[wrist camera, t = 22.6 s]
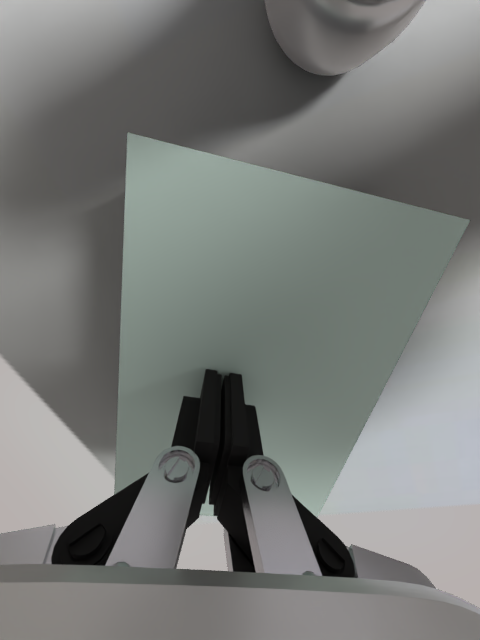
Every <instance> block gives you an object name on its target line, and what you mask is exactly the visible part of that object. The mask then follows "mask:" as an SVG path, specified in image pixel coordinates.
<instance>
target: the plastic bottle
mask: <svg viewBox="0 0 480 640" xmlns="http://www.w3.org/2000/svg"><path fill="white" fill-rule="evenodd" d="M425 1H426V0H265V7H266V11H267V15H268V20H269V24H270V26H271V29H272V31H273V34H274V36H275V39H276V40H277V42H278V44H279V45H280V47H281V48H282V50H283V51H284V53H285V54H286V55H287V56H288V57H289V58H290V59H291V60H292V61H293V62H294V63H295V64H296V65H298V66H299V67H301V68H302V69H304V70H306V71H308V72H311V73H314V74H317V75H331V76H333V75H337V74H342V73H346V72H348V71H350V70H353V69H355V68H357V67H359V66H360V65H362V64H363V63H365V62H366V61H367V60H369V59H370V58H371V57H373V56H374V55H376V54H377V53H378V52H380V51H381V50H382V49H384V48H385V47H386V46H388V45H389V44H390V43H392V42H393V41H394V40H395V39H396V38H397V37H398V36H399V35H400V34H401V33H402V32H403V31H404V29H405V28H406V27H407V26H408V25H409V24H410V22H411V21H412V20H413V18H414V17H415V15H416V14H417V13H418V11H419V10H420V8H421V7H422V6H423V4H424V3H425Z"/></svg>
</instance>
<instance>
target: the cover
mask: <svg viewBox="0 0 480 640" xmlns="http://www.w3.org/2000/svg"><path fill="white" fill-rule="evenodd" d="M469 222H470V220H468V219H464V218H460V217H456V216H453V215H449V214H445V213H441V212H437V211H433V210H429V209H425V208H421V207H417V206H413V205H410V204H406V203H402V202H398V201H394V200H390V199H386V198H382V197H378V196H374V195H371V194H367V193H363V192H359V191H355V190H351V189H347V188H343V187H339V186H335V185H331V184H328V183H324V182H320V181H316V180H312V179H308V178H304V177H300V176H296V175H292V174H288V173H285V172H281V171H277V170H273V169H269V168H265V167H261V166H257V165H253V164H249V163H245V162H242V161H238V160H234V159H230V158H226V157H222V156H218V155H214V154H210V153H206V152H203V151H199V150H195V149H191V148H187V147H183V146H179V145H175V144H171V143H167V142H163V141H160V140H156V139H152V138H148V137H144V136H140V135H136V134H132V133H128V132H127V155H126V183H125V211H124V239H123V267H122V295H121V323H120V351H119V379H118V408H117V436H116V464H115V492H114V495H115V494H116V493H118V492H119V491H121V490H122V489H124V488H126V487H127V486H129V485H130V484H132V483H133V482H135V481H136V480H138V479H140V478H141V477H143V476H144V475H146V474H147V473H149V472H150V470H151V468H152V465H153V463H154V461H155V459H156V458H157V456H158V455H159V454H160V453H161V452H162V451H164V450H165V449H167V448H170V447H171V445H172V441H173V437H174V433H175V429H176V424H177V420H178V416H179V412H180V408H181V404H182V400H183V396H189V397H196V398H200V395H201V390H202V385H203V380H204V375H205V370H206V369H210V370H216V371H217V374H221V375H222V379H221V389H222V384H223V380H224V376H225V375H228V376H229V373H236V374H241V375H242V381H243V391H244V400H245V404H246V405H254V406H255V407H256V412H257V418H258V424H259V430H260V436H261V443H262V449H263V455H264V456H266V457H269V458H271V459H272V460H274V461H275V462H276V463H277V464H278V465H279V466H280V467H281V469H282V471H283V473H284V475H285V478H286V481H287V483H288V486H289V489H290V491H291V494H292V495H293V496H294V497H295V498H296V499H297V500H298V501H299V502H301V503H302V504H303V505H304V506H305V507H306V508H307V509H308V510H309V511H310V512H311V513H312V514H313V515H315V516H316V517H318V515H319V513H320V511H321V509H322V507H323V505H324V503H325V502H326V500H327V498H328V496H329V494H330V492H331V490H332V488H333V486H334V484H335V482H336V480H337V478H338V476H339V474H340V472H341V470H342V469H343V467H344V465H345V463H346V461H347V459H348V457H349V455H350V453H351V451H352V449H353V447H354V445H355V443H356V441H357V439H358V437H359V435H360V434H361V432H362V430H363V428H364V426H365V424H366V422H367V420H368V418H369V416H370V414H371V412H372V410H373V408H374V406H375V404H376V402H377V401H378V399H379V397H380V395H381V393H382V391H383V389H384V387H385V385H386V383H387V381H388V379H389V377H390V375H391V373H392V371H393V369H394V368H395V366H396V364H397V362H398V360H399V358H400V356H401V354H402V352H403V350H404V348H405V346H406V344H407V342H408V340H409V338H410V336H411V334H412V333H413V331H414V329H415V327H416V325H417V323H418V321H419V319H420V317H421V315H422V313H423V311H424V309H425V307H426V305H427V303H428V301H429V300H430V298H431V296H432V294H433V292H434V290H435V288H436V286H437V284H438V282H439V280H440V278H441V276H442V274H443V272H444V270H445V268H446V267H447V265H448V263H449V261H450V259H451V257H452V255H453V253H454V251H455V249H456V247H457V245H458V243H459V241H460V239H461V237H462V235H463V233H464V232H465V230H466V228H467V226H468V224H469ZM209 489H210V485H209ZM209 489H208V493H207V497H206V501H205V504H202V507H201V511H200V515H205V516H213V514H214V505H209Z"/></svg>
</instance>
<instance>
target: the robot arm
mask: <svg viewBox="0 0 480 640" xmlns="http://www.w3.org/2000/svg"><path fill="white" fill-rule="evenodd" d="M221 379H222V375H221V374H217V371H216V370H210V369H206V370H205V375H204V380H203V385H202V390H201V395H200V398H196V397H189V396H183V400H182V404H181V408H180V412H179V416H178V420H177V424H176V429H175V433H174V437H173V441H172V445H171V447H170V448H167V449H165V450H164V451H162V452H161V453H160V454H159V455H158V456H157V458H156V459H155V461H154V463H153V465H152V468H151V470H150V472H149V473H147V474H146V475H144V476H143V477H141V478H140V479H138V480H136V481H135V482H133V483H132V484H130V485H129V486H127V487H126V488H124V489H122V490H121V491H119V492H118V493H116V494H115V495H113V496H112V497H110V498H108V499H107V500H105V501H104V502H102V503H101V504H99V505H98V506H96V507H94V508H93V509H91V510H90V511H88V512H87V513H85V514H84V515H82V516H81V517H79V518H77V519H76V520H75V521H74V522H72V523H71V524H70V525H69V526H65V527H59V528H55V524H54V525H48V526H42V527H36V528H31V529H24V530H18V531H13V532H7V533H1V534H0V640H480V608H478V607H477V606H475V605H473V604H471V603H469V602H467V601H465V600H463V599H461V598H459V597H457V596H454V595H452V594H450V593H447V592H444V591H442V590H439V589H436V588H435V587H434V585H433V584H432V583H431V581H430V580H429V579H428V578H427V577H426V576H425V575H424V574H423V573H422V572H421V571H420V570H418V569H417V568H415V567H413V566H411V565H409V564H406V563H404V562H401V561H397V560H395V559H392V558H389V557H386V556H383V555H381V554H378V553H375V552H372V551H369V550H366V549H364V548H360V547H358V546H355V545H351V546H350V547H347V546H345V545H344V544H343V542H342V541H341V540H340V539H339V538H338V537H337V536H336V535H335V534H334V533H333V532H332V531H331V530H329V528H327V527H326V526H325V525H324V524H323V523H322V522H321V521H320V520H319V519H318V518H317V517H316V516H315V515H313V514H312V513H311V512H310V511H309V510H308V509H307V508H306V507H305V506H304V505H303V504H302V503H301V502H299V501H298V500H297V499H296V498H295V497H294V496H293V495H292V494H291V491H290V489H289V486H288V483H287V481H286V478H285V475H284V473H283V471H282V469H281V467H280V466H279V465H278V464H277V463H276V462H275V461H274V460H272V459H271V458H269V457H266V456H264V455H263V449H262V443H261V436H260V430H259V424H258V418H257V412H256V407H255V406H254V405H246V404H245V400H244V391H243V381H242V375H241V374H236V373H229V376H228V375H225V376H224V380H223V384H222V389H221ZM209 485H210V489H209ZM208 489H209V505H214V514H213V516H217V519H218V520H219V522H220V523H221V524H222V525H223V527H224V541H225V550H226V558H227V566H228V571H211V570H189V569H176V568H177V564H178V560H179V555H180V552H181V548H182V544H183V541H184V537H185V533H186V529H187V528H188V527H189V526H190V525H191V524H192V523H193V522H195V521H196V520H197V519H198V518H199V515H200V511H201V507H202V504H205V501H206V497H207V493H208Z"/></svg>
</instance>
